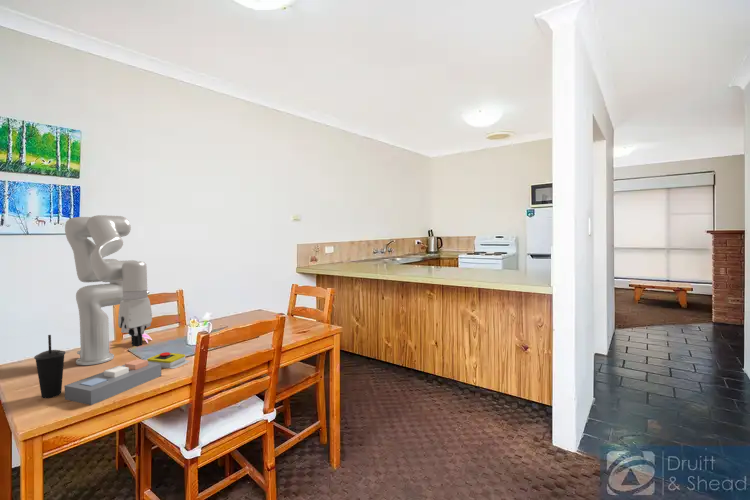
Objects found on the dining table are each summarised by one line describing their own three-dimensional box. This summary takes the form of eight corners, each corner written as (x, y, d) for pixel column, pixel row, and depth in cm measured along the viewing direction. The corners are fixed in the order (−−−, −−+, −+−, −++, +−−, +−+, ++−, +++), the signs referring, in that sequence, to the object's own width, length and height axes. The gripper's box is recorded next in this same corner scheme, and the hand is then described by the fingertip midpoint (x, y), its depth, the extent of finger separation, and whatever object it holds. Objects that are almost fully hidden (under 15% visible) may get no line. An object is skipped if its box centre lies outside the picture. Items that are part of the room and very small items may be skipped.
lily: (136, 350, 170) (148, 331, 172) (115, 339, 172) (127, 320, 174) (151, 350, 182) (162, 332, 184) (132, 340, 183) (143, 322, 186)
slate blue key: (80, 392, 118) (80, 383, 118) (96, 386, 123) (96, 377, 123) (91, 394, 117) (91, 385, 117) (107, 388, 122) (107, 379, 122)
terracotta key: (125, 371, 133) (125, 363, 132) (138, 366, 137) (137, 359, 137) (135, 373, 131) (135, 365, 131) (148, 368, 136) (147, 360, 136)
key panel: (64, 399, 117) (64, 385, 117) (137, 371, 141) (137, 360, 141) (91, 405, 113) (90, 390, 113) (161, 375, 137) (161, 363, 137)
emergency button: (160, 349, 157) (190, 351, 153) (161, 359, 157) (191, 362, 153) (142, 356, 148) (173, 359, 144) (142, 366, 148) (174, 370, 144)
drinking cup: (48, 390, 124) (46, 332, 123) (72, 389, 124) (70, 331, 124) (29, 400, 116) (26, 338, 115) (54, 400, 117) (52, 338, 116)
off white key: (104, 379, 126) (103, 370, 125) (118, 374, 130) (118, 365, 130) (114, 381, 124) (114, 372, 124) (128, 375, 129) (128, 367, 129)
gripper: (146, 292, 141) (147, 339, 142) (107, 298, 127) (109, 350, 128) (161, 292, 139) (162, 341, 139) (123, 299, 125) (124, 352, 125)
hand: (137, 345), depth 133 cm, fingers closed
